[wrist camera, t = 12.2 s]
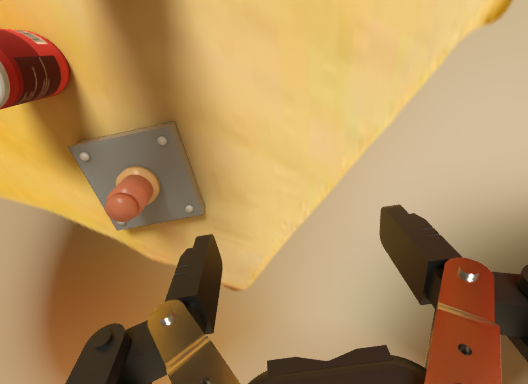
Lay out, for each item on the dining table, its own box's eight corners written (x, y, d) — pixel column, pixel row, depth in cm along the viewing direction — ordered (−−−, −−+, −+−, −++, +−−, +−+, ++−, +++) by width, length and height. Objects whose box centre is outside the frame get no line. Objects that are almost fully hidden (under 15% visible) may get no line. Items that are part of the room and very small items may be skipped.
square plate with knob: (78, 141, 40) (61, 151, 36) (174, 121, 39) (166, 129, 35) (123, 221, 47) (112, 236, 43) (205, 206, 46) (201, 219, 42)
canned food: (-9, 37, 33) (-117, 35, 23) (51, 23, 32) (-34, 15, 23) (29, 100, 37) (-51, 120, 27) (83, 88, 36) (21, 105, 27)
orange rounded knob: (115, 177, 38) (93, 198, 33) (145, 171, 38) (128, 192, 33) (129, 204, 41) (111, 227, 35) (158, 198, 40) (143, 221, 35)
